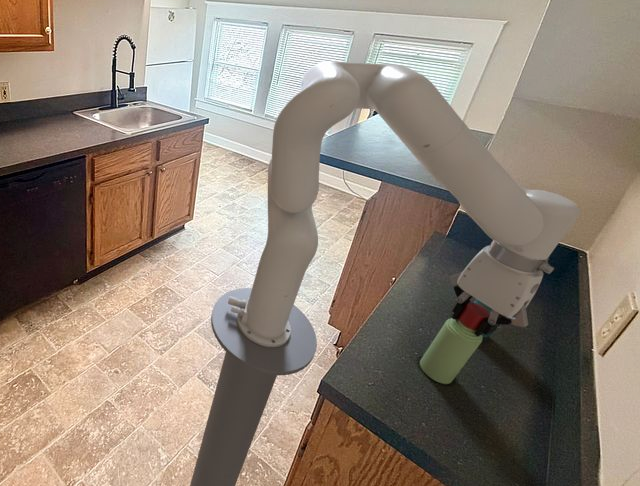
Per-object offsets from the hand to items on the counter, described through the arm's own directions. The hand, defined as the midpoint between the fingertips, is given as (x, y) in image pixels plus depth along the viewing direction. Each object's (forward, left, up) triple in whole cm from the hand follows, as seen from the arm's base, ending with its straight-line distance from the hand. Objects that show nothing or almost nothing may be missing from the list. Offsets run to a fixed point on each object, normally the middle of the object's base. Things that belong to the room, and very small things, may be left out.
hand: (468, 324), depth 78 cm
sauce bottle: (0, 0, -15) cm, 15 cm away
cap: (0, 0, +1) cm, 1 cm away
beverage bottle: (+12, +18, -15) cm, 26 cm away
